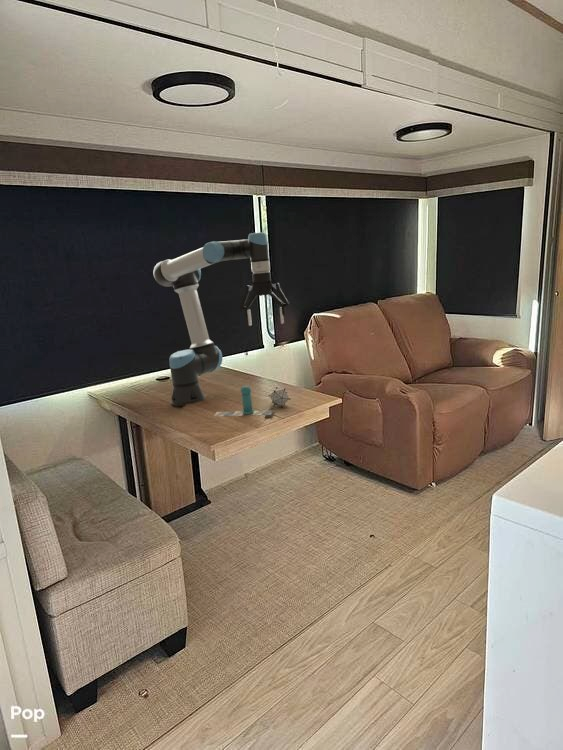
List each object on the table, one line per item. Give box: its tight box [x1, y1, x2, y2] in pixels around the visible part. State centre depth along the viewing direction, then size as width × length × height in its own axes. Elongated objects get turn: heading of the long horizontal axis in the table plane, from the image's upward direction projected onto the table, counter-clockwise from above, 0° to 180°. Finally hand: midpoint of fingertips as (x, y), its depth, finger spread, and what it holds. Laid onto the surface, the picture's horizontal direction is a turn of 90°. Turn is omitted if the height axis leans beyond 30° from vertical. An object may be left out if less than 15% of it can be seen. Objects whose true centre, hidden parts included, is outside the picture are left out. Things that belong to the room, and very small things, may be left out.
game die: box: [267, 386, 291, 409], centre depth 211 cm, size 9×8×10 cm
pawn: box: [240, 385, 254, 416], centre depth 201 cm, size 4×4×12 cm
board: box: [213, 409, 275, 419], centre depth 203 cm, size 24×6×1 cm, turn 81°
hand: (266, 324), depth 208 cm, fingers open, 13 cm apart
